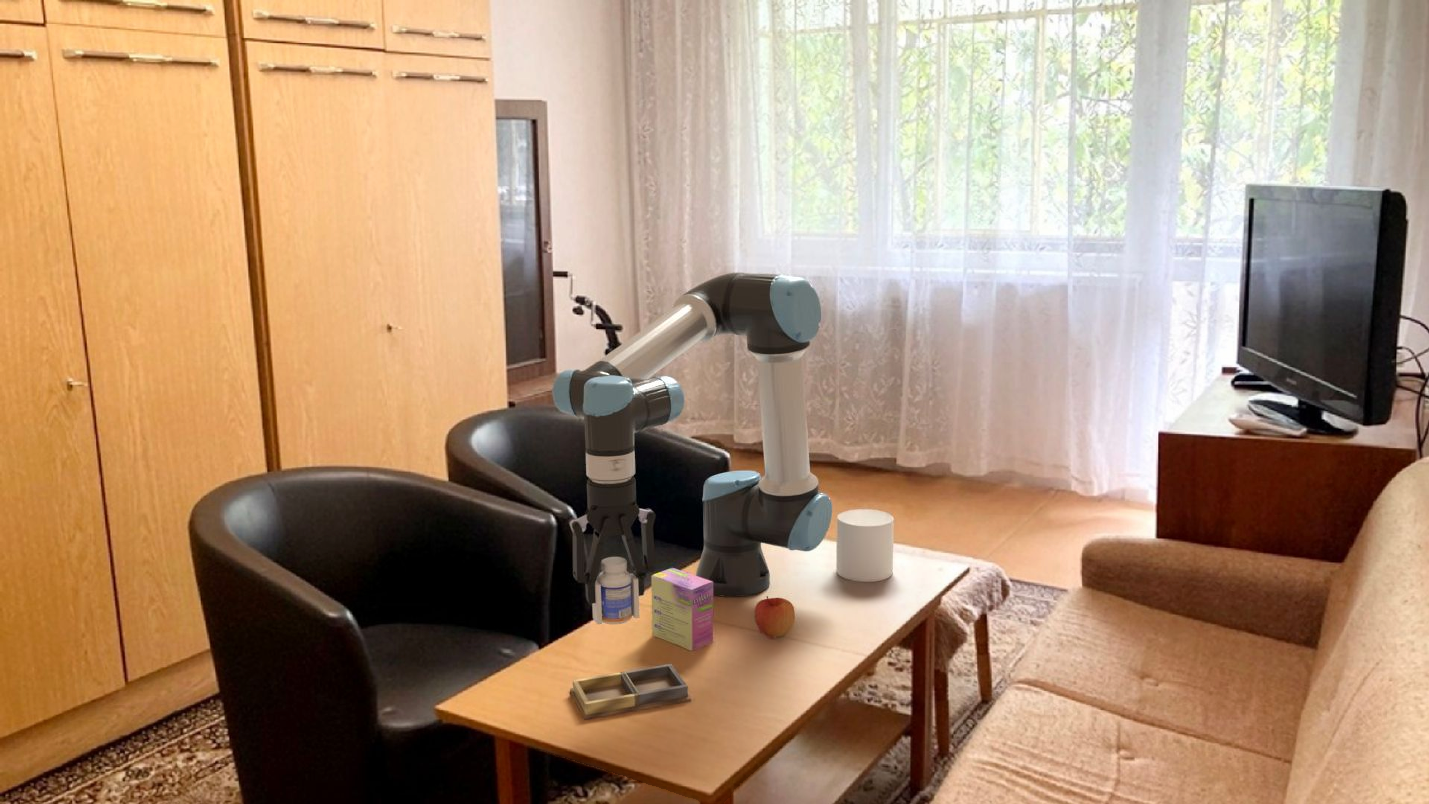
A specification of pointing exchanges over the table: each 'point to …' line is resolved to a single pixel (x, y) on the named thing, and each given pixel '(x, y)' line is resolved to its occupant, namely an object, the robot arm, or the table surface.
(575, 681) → the two-compartment tray
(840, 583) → the table surface
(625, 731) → the table surface
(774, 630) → the apple
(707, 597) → the box
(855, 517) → the cup
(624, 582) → the pill bottle
